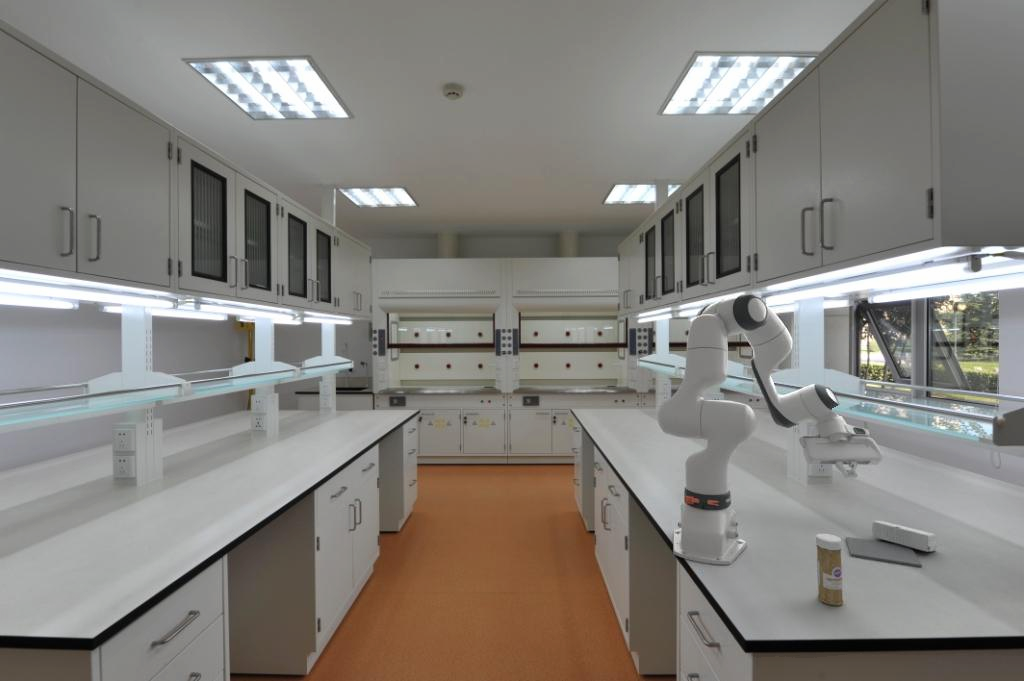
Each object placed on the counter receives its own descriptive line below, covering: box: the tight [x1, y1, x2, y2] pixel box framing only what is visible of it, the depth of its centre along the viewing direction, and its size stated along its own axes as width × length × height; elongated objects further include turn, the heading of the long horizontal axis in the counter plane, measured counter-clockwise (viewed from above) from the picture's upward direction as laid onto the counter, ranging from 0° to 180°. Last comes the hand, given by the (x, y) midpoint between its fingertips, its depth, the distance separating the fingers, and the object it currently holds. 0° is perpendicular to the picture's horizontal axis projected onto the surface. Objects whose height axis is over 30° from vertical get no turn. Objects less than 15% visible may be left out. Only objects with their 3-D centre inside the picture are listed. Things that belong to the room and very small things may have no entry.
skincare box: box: [871, 520, 937, 553], centre depth 128 cm, size 6×4×12 cm
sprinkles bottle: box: [815, 533, 844, 607], centre depth 102 cm, size 5×5×14 cm
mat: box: [845, 536, 923, 568], centre depth 124 cm, size 12×14×1 cm
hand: (850, 476), depth 141 cm, fingers closed
